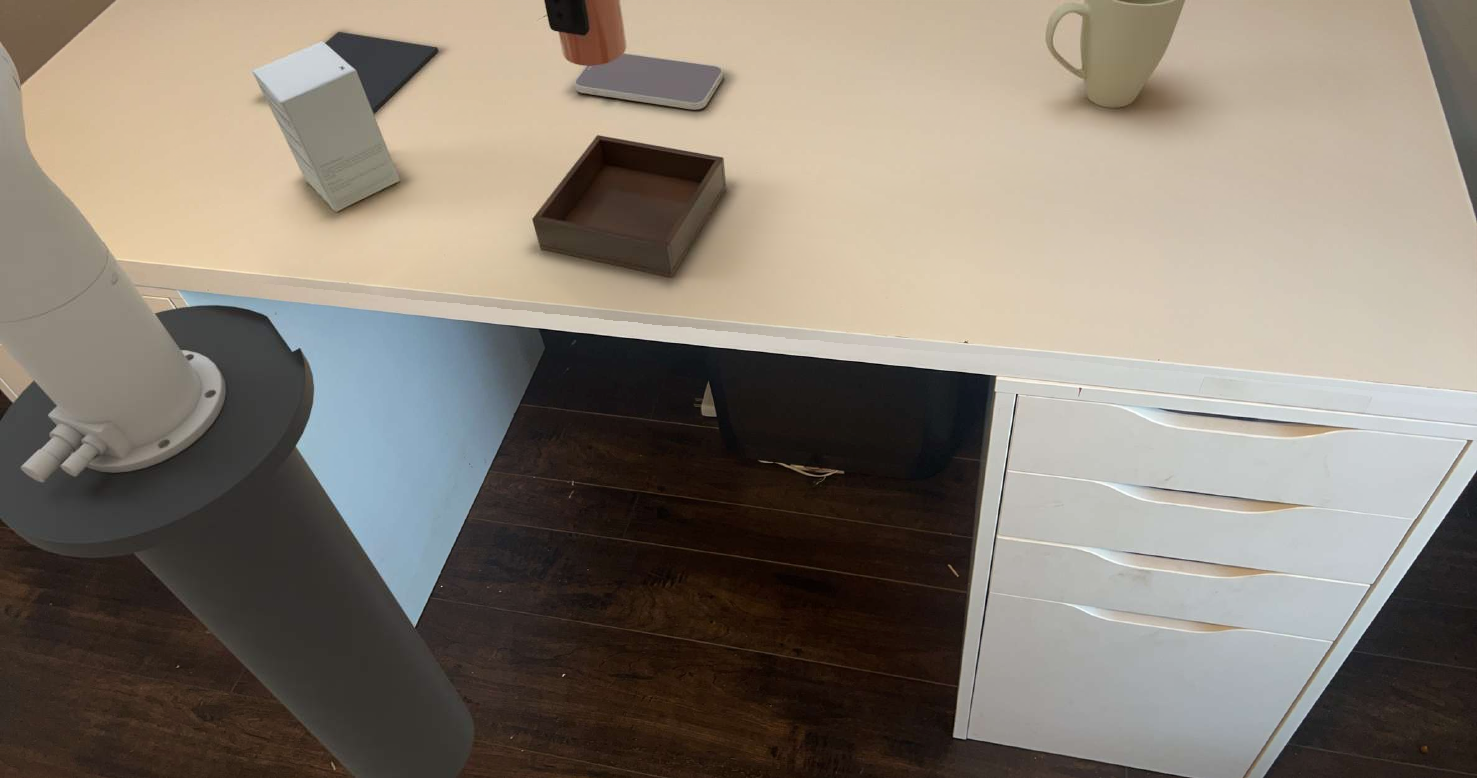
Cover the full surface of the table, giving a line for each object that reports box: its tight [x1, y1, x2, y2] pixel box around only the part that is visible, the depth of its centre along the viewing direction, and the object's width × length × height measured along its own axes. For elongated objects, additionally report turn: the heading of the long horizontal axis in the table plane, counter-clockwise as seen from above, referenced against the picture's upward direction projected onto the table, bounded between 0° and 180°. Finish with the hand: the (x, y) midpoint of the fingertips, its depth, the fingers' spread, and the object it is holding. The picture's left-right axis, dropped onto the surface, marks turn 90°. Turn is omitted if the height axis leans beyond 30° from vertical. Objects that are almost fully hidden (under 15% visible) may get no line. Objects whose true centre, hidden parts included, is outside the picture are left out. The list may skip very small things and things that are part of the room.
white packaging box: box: [251, 41, 401, 213], centre depth 95 cm, size 7×7×13 cm
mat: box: [324, 31, 439, 115], centre depth 113 cm, size 14×14×1 cm
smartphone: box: [574, 52, 724, 111], centre depth 107 cm, size 7×1×15 cm
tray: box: [531, 134, 727, 278], centre depth 92 cm, size 13×13×4 cm
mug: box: [1045, 0, 1186, 109], centre depth 96 cm, size 11×10×12 cm
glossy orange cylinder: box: [558, 0, 628, 67], centre depth 77 cm, size 5×5×8 cm
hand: (587, 10), depth 78 cm, fingers closed on glossy orange cylinder, 5 cm apart
